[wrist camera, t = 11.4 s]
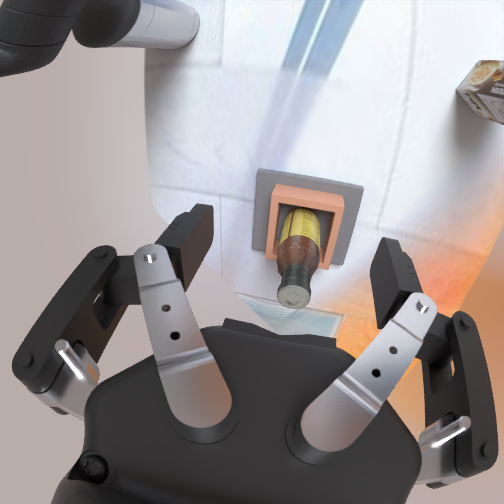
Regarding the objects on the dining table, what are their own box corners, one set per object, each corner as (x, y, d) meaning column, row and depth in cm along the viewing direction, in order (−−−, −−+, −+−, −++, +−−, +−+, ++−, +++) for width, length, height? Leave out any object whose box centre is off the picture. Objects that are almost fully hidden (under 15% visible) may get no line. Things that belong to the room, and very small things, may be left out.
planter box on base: (253, 244, 56) (246, 262, 51) (259, 168, 47) (251, 180, 42) (342, 260, 53) (343, 280, 49) (362, 186, 44) (367, 200, 39)
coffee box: (477, 117, 30) (531, 141, 17) (454, 89, 29) (508, 101, 16) (500, 85, 25) (557, 100, 12) (478, 58, 24) (534, 60, 11)
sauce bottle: (294, 239, 51) (277, 321, 36) (279, 211, 49) (254, 288, 33) (327, 228, 48) (324, 310, 33) (312, 198, 46) (304, 273, 30)
